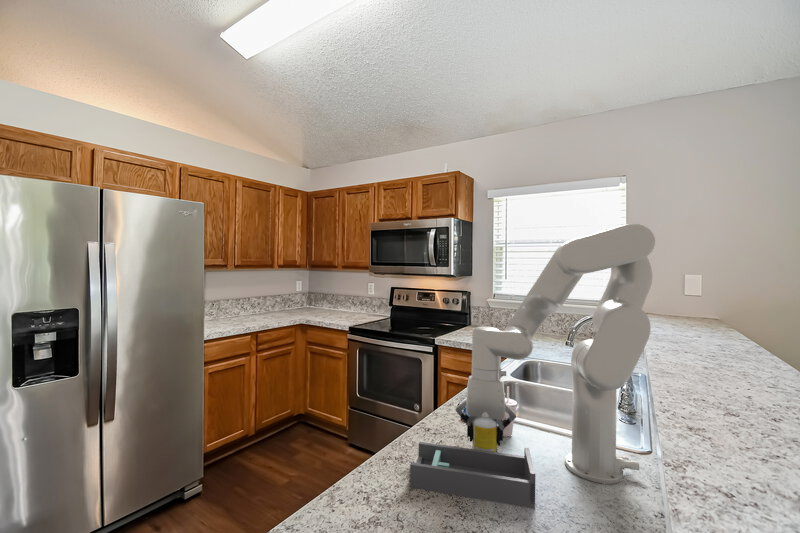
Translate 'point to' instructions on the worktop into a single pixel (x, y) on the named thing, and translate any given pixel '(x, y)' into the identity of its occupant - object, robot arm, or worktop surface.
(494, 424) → the pill bottle
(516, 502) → the tray
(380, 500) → the worktop surface
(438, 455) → the pusher paddle
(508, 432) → the smoothie
